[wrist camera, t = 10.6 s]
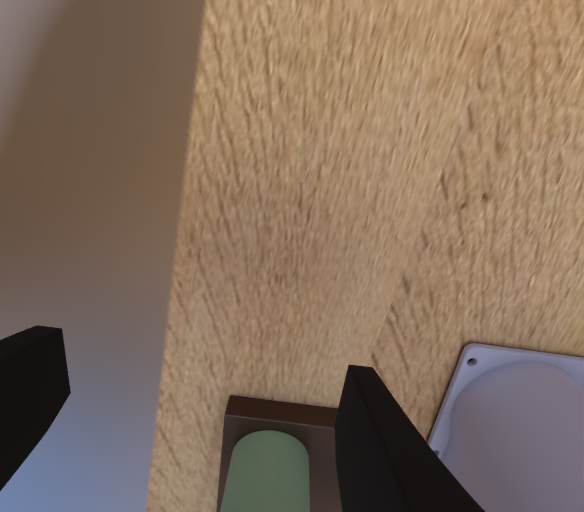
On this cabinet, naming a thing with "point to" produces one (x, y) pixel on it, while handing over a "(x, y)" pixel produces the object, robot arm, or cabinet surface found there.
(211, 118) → the cabinet surface
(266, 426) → the walnut board
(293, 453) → the sanitizer bottle
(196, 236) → the cabinet surface
